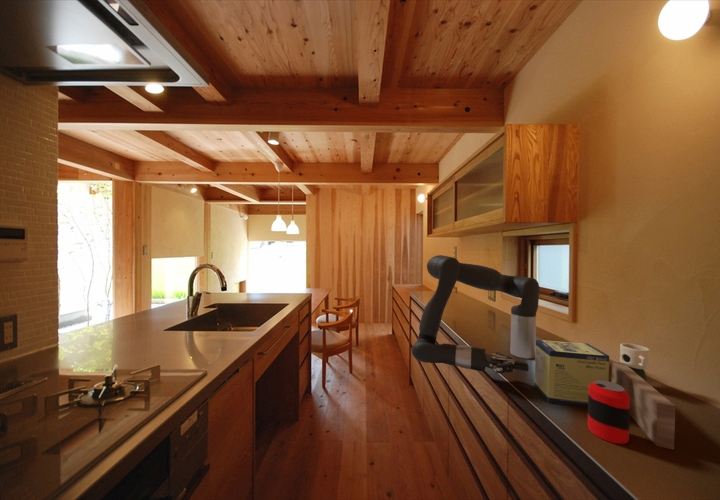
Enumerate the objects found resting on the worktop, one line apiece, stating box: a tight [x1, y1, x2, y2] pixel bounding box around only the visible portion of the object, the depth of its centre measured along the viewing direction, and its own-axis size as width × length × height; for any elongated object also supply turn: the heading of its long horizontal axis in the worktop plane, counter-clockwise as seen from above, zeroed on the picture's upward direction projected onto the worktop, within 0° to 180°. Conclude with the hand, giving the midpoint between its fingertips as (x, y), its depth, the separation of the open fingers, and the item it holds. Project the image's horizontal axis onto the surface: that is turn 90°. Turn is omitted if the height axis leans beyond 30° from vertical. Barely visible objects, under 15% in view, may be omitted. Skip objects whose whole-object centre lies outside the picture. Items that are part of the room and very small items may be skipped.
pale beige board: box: [610, 361, 676, 450], centre depth 76 cm, size 26×3×10 cm, turn 155°
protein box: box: [534, 339, 610, 408], centre depth 85 cm, size 10×16×16 cm
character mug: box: [619, 342, 651, 383], centre depth 93 cm, size 11×7×13 cm, turn 159°
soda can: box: [587, 380, 631, 445], centre depth 68 cm, size 8×8×12 cm
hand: (528, 367), depth 90 cm, fingers closed
